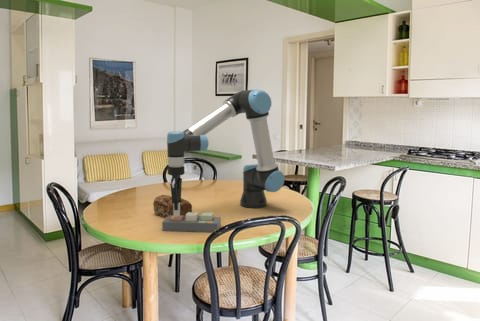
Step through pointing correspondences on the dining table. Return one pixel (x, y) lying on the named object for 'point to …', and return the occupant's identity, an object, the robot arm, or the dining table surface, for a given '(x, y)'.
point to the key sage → (207, 217)
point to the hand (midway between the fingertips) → (176, 216)
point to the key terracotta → (177, 218)
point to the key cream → (192, 216)
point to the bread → (169, 206)
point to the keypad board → (191, 225)
